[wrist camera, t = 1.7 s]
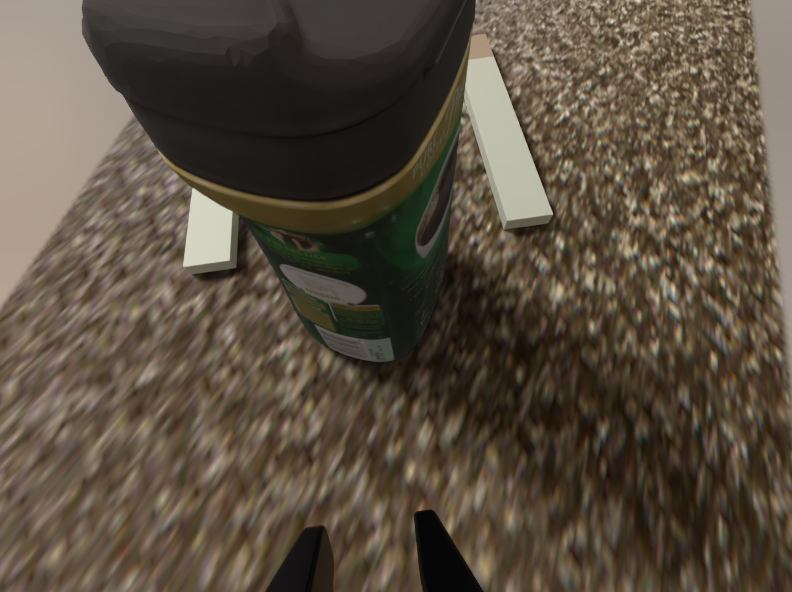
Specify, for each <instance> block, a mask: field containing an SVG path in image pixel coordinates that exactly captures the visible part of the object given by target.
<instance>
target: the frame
mask: <svg viewBox="0 0 792 592" xmlns="http://www.w3.org/2000/svg"><path fill="white" fill-rule="evenodd" d="M464 99H465V103H466V106H467V109H468V113H469V116H470V119H471V122H472V126H473V129H474V132H475V136H476V139H477V142H478V146H479V149H480V152H481V156H482V159H483V162H484V166H485V169H486V172H487V175H488V179H489V182H490V185H491V189H492V192H493V195H494V199H495V202H496V205H497V209H498V212H499V215H500V218H501V222H502V225H503V228H504V230H506V229H513V228H520V227H527V226H534V225H541V224H548V223H549V221H550V219H551V217H552V216H553V213H552V210H551V207H550V205H549V202H548V199H547V197H546V194H545V191H544V189H543V186H542V183H541V181H540V178H539V175H538V173H537V170H536V167H535V165H534V162H533V159H532V157H531V154H530V151H529V149H528V146H527V143H526V141H525V138H524V135H523V133H522V130H521V127H520V125H519V122H518V119H517V117H516V114H515V111H514V109H513V106H512V103H511V101H510V98H509V95H508V93H507V90H506V87H505V85H504V82H503V79H502V77H501V74H500V71H499V69H498V66H497V63H496V61H495V58H494V55H493V53H492V50H491V47H490V45H489V42H488V39H487V37H486V34H481V35H474V36H472V37H471V44H470V52H469V60H468V68H467V76H466V84H465V92H464ZM238 228H239V216H238V215H237V214H236V213H234V212H232V211H230V210H228V209H226V208H224V207H222V206H221V205H219V204H217V203H216V202H214V201H212V200H211V199H209V198H207V197H206V196H204V195H203V194H201V193H200V192H198V191H197V190H195V189H194V188H193V189H192V197H191V205H190V214H189V222H188V231H187V239H186V247H185V256H184V264H183V267H184V268H185V269H186V270H187V271H188V272H190V273H191V274H197V273H204V272H211V271H218V270H225V269H232V268H236V267H237V247H238Z"/></svg>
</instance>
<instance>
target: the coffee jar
mask: <svg viewBox="0 0 792 592" xmlns="http://www.w3.org/2000/svg"><path fill="white" fill-rule="evenodd" d="M475 2H476V0H83V4H82V13H83V19H82V34H83V36H84V38H85V40H86V43H87V45H88V47H89V49H90V51H91V52H92V54H93V56H94V57H95V59H96V60H97V62H98V64H99V65H100V67H101V69H102V70H103V72H104V74H105V76H106V77H107V79H108V81H109V82H110V84H111V85H112V86H113V87H114V88H115V90H116V91H118V92H120V93H121V94H122V95H123V96H124V98H125V100H126V101H127V103H128V105H129V107H130V108H131V110H132V112H133V114H134V115H135V117H136V118H137V120H138V121H139V123H140V124H141V125H142V127H143V128H144V130H145V131H146V133H147V134H148V135H149V137H150V139H151V140H152V142H153V143H154V145H155V147H156V148H157V149H158V151H159V153H160V155H161V157H162V158H163V160H164V161H165V162H166V164H167V165H168V166H169V167H170V168H171V169H172V170H174V171H175V172H176V173H177V174H178V175H179V176H180V177H181V178H182V179H183V180H184V181H185V182H186V183H188V184H189V185H190V186H191V187H192V188H194V189H195V190H197V191H198V192H200V193H201V194H203V195H204V196H206V197H207V198H209V199H211V200H212V201H214V202H216V203H217V204H219V205H221V206H222V207H224V208H226V209H228V210H230V211H232V212H234V213H236V214H237V215H238V216H239V217H240V218H241V219H242V220H243V222H244V223H245V224H246V226H247V227H248V229H249V230H250V231H251V233H252V235H253V236H254V237H255V239H256V241H257V242H258V244H259V246H260V248H261V249H262V251H263V252H264V254H265V256H266V257H267V259H268V261H269V263H270V264H271V266H272V268H273V269H274V271H275V273H276V275H277V277H278V278H279V280H280V282H281V284H282V286H283V288H284V289H285V291H286V293H287V295H288V297H289V300H290V301H291V303H292V305H293V308H294V310H295V311H296V313H297V315H298V317H299V318H300V320H301V321H302V323H303V324H304V326H305V327H306V329H307V330H308V331H309V333H310V334H311V335H312V336H313V337H314V338H315V339H316V340H317V341H319V342H320V343H322V344H323V345H325V346H327V347H329V348H331V349H333V350H335V351H337V352H340V353H342V354H345V355H347V356H350V357H354V358H357V359H361V360H367V361H373V362H388V361H392V360H396V359H399V358H401V357H403V356H404V355H406V354H407V353H409V352H410V351H411V350H412V349H413V348H414V347H415V346H416V344H417V343H418V342H419V340H420V338H421V336H422V334H423V333H424V331H425V329H426V326H427V324H428V322H429V320H430V317H431V316H432V313H433V310H434V307H435V305H436V302H437V299H438V296H439V293H440V289H441V285H442V282H443V277H444V272H445V266H446V258H447V248H448V236H449V222H450V212H451V203H452V193H453V184H454V175H455V165H456V156H457V147H458V139H459V130H460V122H461V114H462V106H463V99H464V92H465V84H466V76H467V68H468V60H469V52H470V44H471V37H472V30H473V22H474V19H475Z"/></svg>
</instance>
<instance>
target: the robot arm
mask: <svg viewBox="0 0 792 592" xmlns="http://www.w3.org/2000/svg"><path fill="white" fill-rule="evenodd" d="M414 523H415V533H416V543H417V553H418V563H419V571H420V578H421V584H422V591H423V592H484V591H483V590H482V588H481V587H480V585H479V583H478V582H477V580H476V578H475V577H474V575H473V573H472V572H471V570H470V568H469V567H468V565H467V564H466V562H465V560H464V559H463V557H462V555H461V554H460V552H459V550H458V549H457V547H456V545H455V544H454V542H453V540H452V539H451V537H450V536H449V534H448V532H447V531H446V529H445V527H444V526H443V524H442V522H441V521H440V519H439V517H438V516H437V514H436V513H435V511H433V510H431V509H430V510H423V511H417V512H415V513H414ZM333 575H334V559H333V552H332V548H331V545H330V541H329V537H328V534H327V530H326V528H325V527H324V526H322V525H320V526H313V527H307V528H305V529H304V530H303V531H302V532H301V534H300V536H299V537H298V539H297V541H296V542H295V544H294V546H293V547H292V549H291V550H290V552H289V554H288V555H287V557H286V559H285V560H284V562H283V563H282V565H281V567H280V568H279V570H278V572H277V573H276V575H275V577H274V578H273V580H272V581H271V583H270V585H269V586H268V588H267V590H266V591H265V592H333Z"/></svg>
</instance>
